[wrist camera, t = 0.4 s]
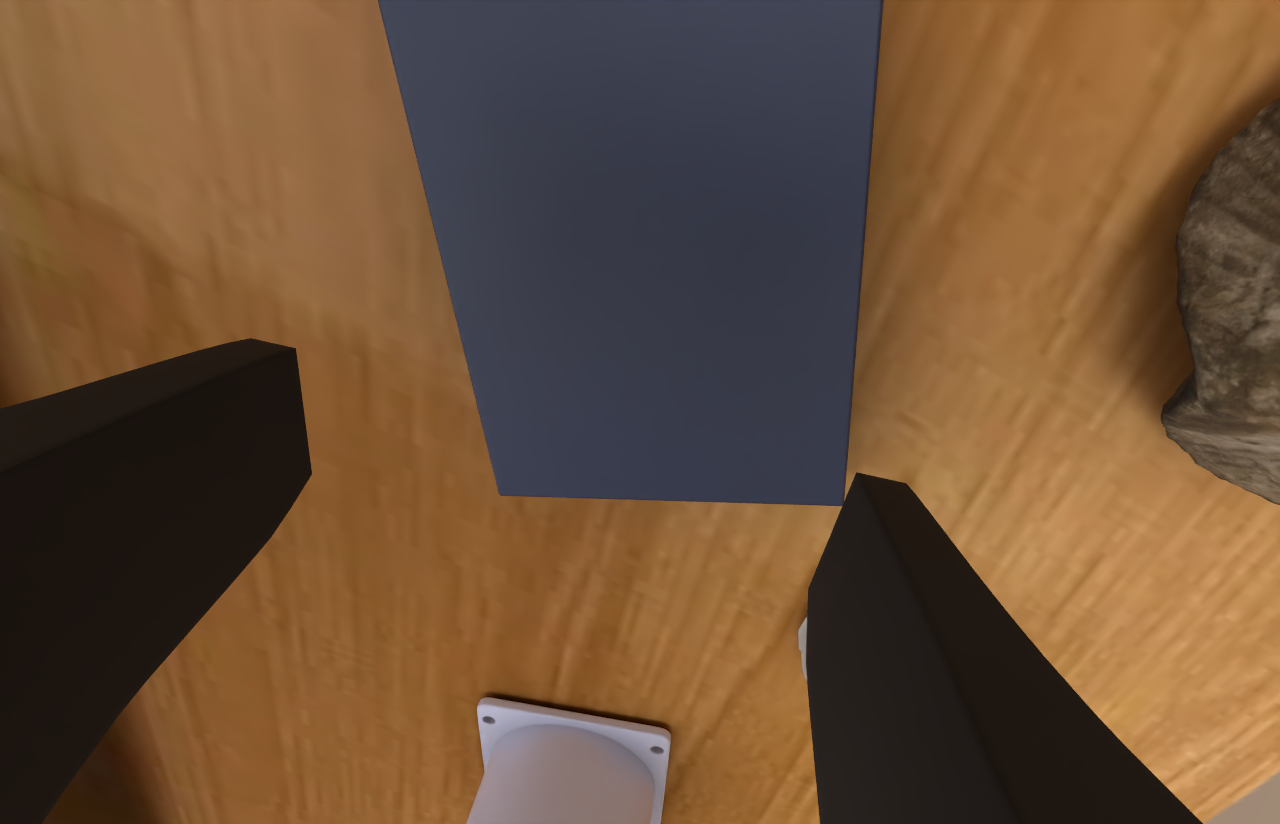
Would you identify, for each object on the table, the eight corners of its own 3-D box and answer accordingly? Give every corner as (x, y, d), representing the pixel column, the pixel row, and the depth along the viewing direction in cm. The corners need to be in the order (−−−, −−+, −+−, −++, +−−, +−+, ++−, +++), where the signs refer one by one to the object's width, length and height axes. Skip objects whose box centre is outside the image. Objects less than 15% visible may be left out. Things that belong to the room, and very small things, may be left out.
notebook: (839, 474, 20) (844, 507, 19) (514, 467, 22) (498, 496, 21) (882, -123, 13) (894, -133, 12) (394, -63, 15) (360, -66, 14)
